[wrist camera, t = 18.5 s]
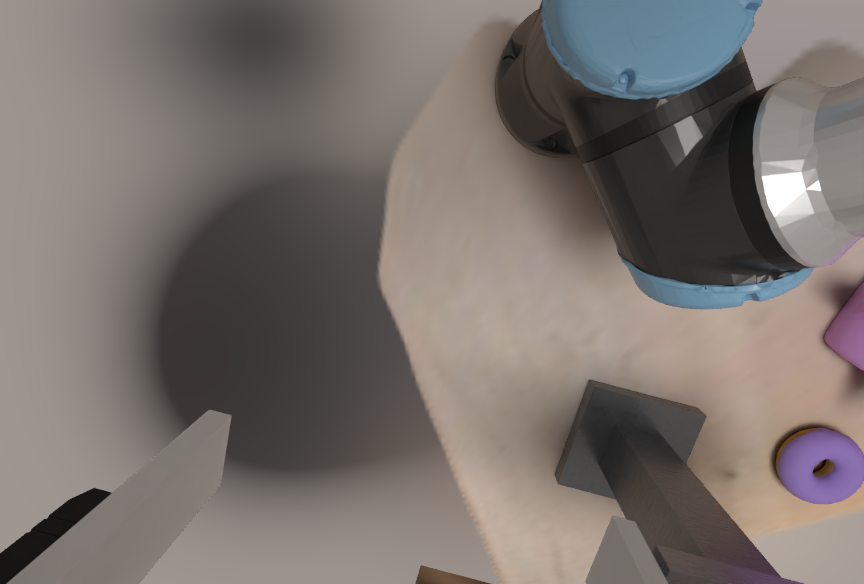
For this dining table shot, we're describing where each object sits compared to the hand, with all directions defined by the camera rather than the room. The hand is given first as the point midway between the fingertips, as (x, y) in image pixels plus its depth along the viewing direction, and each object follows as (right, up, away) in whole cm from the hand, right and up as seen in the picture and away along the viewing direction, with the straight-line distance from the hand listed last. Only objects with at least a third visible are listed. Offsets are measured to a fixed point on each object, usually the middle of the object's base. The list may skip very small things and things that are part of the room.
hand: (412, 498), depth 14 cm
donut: (+48, -14, +40) cm, 65 cm away
